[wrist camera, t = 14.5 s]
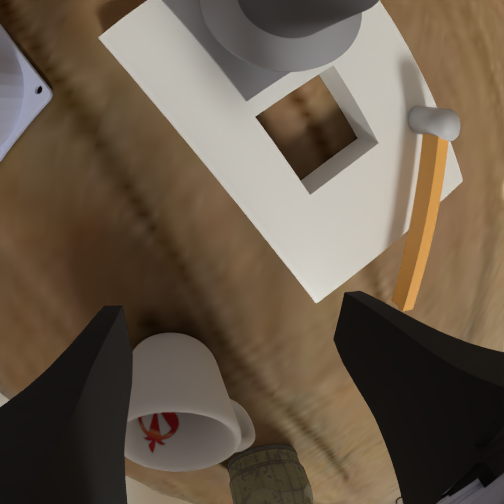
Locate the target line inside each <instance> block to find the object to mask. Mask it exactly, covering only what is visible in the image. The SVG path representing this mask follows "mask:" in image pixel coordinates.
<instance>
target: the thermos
mask: <svg viewBox="0 0 504 504" xmlns="http://www.w3.org/2000/svg"><path fill="white" fill-rule="evenodd" d="M227 469H228V472H229V475H230V484H229V485H230V489H231V494H232V499H233V503H234V504H313V495H312V490H311V485H310V483H309V480H308V478H307V475H306V472H305V470H304V467H303V466H302V465H301V464H300V462H299V459H298V457H297V452H296V450H295V449H294V448H293V447H291V446H288V445H281V444H272V445H263V446H259V447H255V448H251V449H249V450H246V451H243V452H241V453H239V454H238V455H236V456H234V457H233V458H232V459H231V460H230V461H229V462H228V465H227Z"/></svg>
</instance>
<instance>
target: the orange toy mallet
mask: <svg viewBox="0 0 504 504" xmlns="http://www.w3.org/2000/svg"><path fill="white" fill-rule="evenodd" d="M408 120H409V125H410V128H411V129H412V131H413V132H415V133H417V134H421V135H423V136H422V146H421V155H420V163H419V171H418V178H417V185H416V191H415V198H414V204H413V209H412V215H411V220H410V226H409V231H408V236H407V240H406V245H405V250H404V254H403V258H402V263H401V267H400V271H399V275H398V279H397V283H396V287H395V291H394V294H393V298H392V301H393V302H394V303H395V304H396V305H397V306H398V307H399V308H400V309H401V310H402V311H407V310H412V309H413V307H414V304H415V300H416V297H417V294H418V291H419V287H420V284H421V280H422V277H423V273H424V269H425V266H426V262H427V258H428V254H429V250H430V246H431V242H432V237H433V233H434V228H435V224H436V219H437V214H438V209H439V203H440V198H441V192H442V186H443V180H444V173H445V166H446V159H447V151H448V142H449V141H453V140H455V139H456V138H457V137H458V135H459V132H460V120H459V117H458V115H457V113H456V112H455V111H453V110H451V109H444V108H435V107H426V106H415V107H413V108H412V109H411V111H410V113H409V117H408Z"/></svg>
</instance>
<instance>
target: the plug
mask: <svg viewBox="0 0 504 504" xmlns="http://www.w3.org/2000/svg"><path fill="white" fill-rule="evenodd" d="M378 1H379V0H199V5H200V10H201V14H202V17H203V20H204V22H205V24H206V26H207V28H208V30H209V31H210V33H211V34H212V35H213V37H214V38H215V39H216V40H217V41H218V42H219V43H220V44H221V45H222V47H224V48H225V49H226V50H227V51H229V52H230V53H231V54H233V55H234V56H236V57H237V58H239V59H241V60H243V61H245V62H247V63H249V64H251V65H254V66H256V67H259V68H263V69H267V70H271V71H278V72H300V71H306V70H310V69H314V68H318V67H321V66H324V65H327V64H329V63H330V62H332V61H334V60H336V59H337V58H339V57H340V56H342V55H343V54H344V53H345V52H346V51H347V50H348V49H349V48H350V46H351V45H352V44H353V42H354V41H355V39H356V37H357V35H358V32H359V29H360V26H361V20H362V12H364V11H366V10H368V9H370V8H372V7H373V6H374V5H375V4H377V3H378Z"/></svg>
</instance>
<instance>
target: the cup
mask: <svg viewBox="0 0 504 504" xmlns="http://www.w3.org/2000/svg"><path fill="white" fill-rule="evenodd" d="M132 353H133V374H132V389H131V396H130V403H129V411H128V419H127V427H126V436H125V451H124V456H125V457H126V458H128V459H130V460H131V461H133V462H135V463H137V464H140V465H142V466H145V467H148V468H152V469H157V470H163V471H179V472H182V471H193V470H199V469H204V468H207V467H211V466H214V465H216V464H218V463H221V462H222V461H224V460H226V459H227V458H229V457H230V456H231V455H232V454H233V453H235V452H241V451H243V450H245V449H247V448H249V447H250V446H251V445H252V444H253V443H254V440H255V430H254V426H253V423H252V421H251V419H250V417H249V415H248V413H247V412H246V410H245V409H244V408H243V407H242V406H241V405H240V404H238V403H237V402H236V401H234V400H232V399H229V396H228V393H227V390H226V388H225V385H224V382H223V379H222V376H221V373H220V370H219V367H218V365H217V362H216V360H215V358H214V356H213V354H212V353H211V352H210V350H209V349H208V348H207V347H206V346H205V345H204V344H203V343H202V342H200V341H199V340H197V339H195V338H193V337H191V336H188V335H185V334H180V333H161V334H157V335H153V336H151V337H148V338H147V339H145V340H143V341H142V342H141V343H140V344H138V345H137V347H136V348H135V349H134V350H133V352H132Z"/></svg>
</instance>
